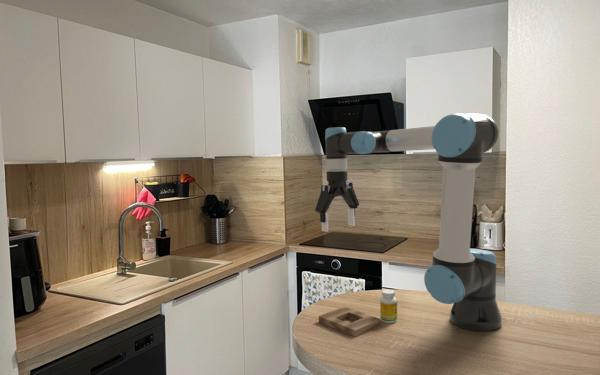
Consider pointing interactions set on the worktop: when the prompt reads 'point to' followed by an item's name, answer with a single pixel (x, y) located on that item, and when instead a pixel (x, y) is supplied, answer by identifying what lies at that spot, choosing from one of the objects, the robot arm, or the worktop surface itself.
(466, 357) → the worktop surface
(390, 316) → the supplement bottle
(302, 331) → the worktop surface
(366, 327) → the socket board
